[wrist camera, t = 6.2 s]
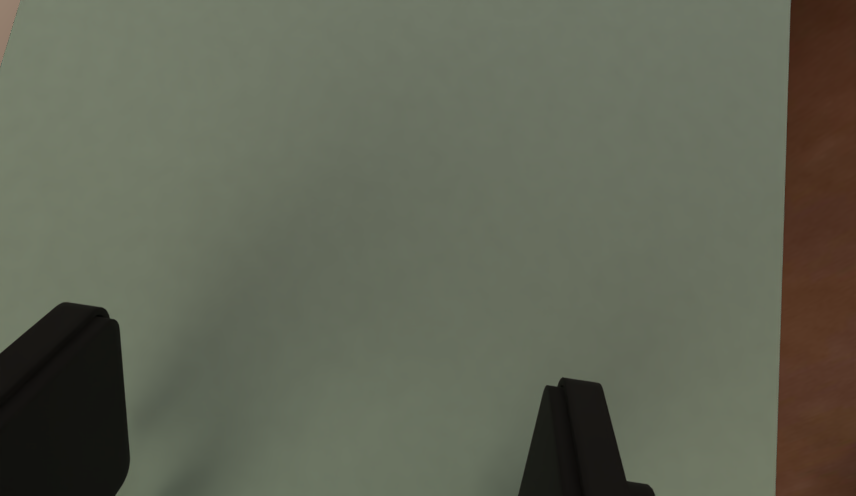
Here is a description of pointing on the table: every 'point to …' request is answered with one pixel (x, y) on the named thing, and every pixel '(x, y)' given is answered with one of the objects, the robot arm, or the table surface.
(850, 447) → the table surface
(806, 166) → the table surface
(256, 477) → the lid
